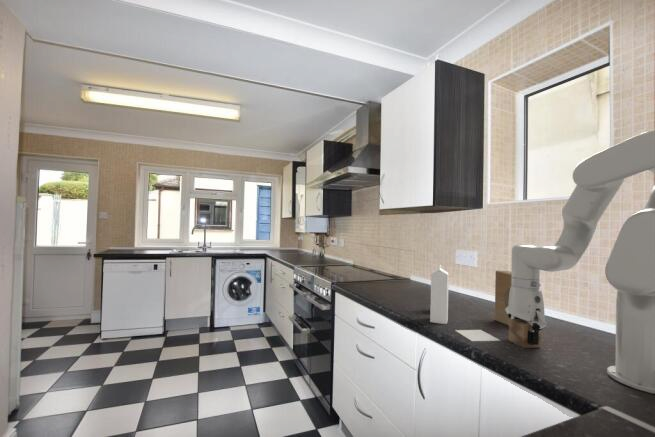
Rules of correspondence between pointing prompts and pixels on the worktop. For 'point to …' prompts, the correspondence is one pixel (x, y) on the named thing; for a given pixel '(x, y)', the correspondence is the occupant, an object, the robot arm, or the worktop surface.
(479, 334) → the grey mat
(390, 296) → the worktop surface
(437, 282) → the milk
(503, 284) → the decorative block
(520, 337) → the walnut block
